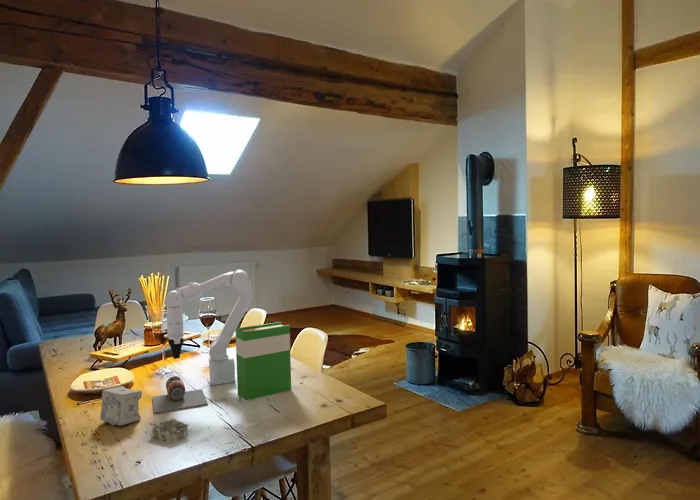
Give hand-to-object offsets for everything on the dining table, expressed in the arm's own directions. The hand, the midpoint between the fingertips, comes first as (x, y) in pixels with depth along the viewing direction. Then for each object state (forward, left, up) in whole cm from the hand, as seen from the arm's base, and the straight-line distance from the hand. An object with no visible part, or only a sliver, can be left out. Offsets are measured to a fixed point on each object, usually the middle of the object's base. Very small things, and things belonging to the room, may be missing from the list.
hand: (176, 358), depth 188 cm
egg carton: (+6, +44, -11) cm, 46 cm away
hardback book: (-28, +22, -11) cm, 37 cm away
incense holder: (+19, +27, -11) cm, 35 cm away
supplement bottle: (+2, +9, -7) cm, 11 cm away
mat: (+1, +18, -10) cm, 21 cm away
